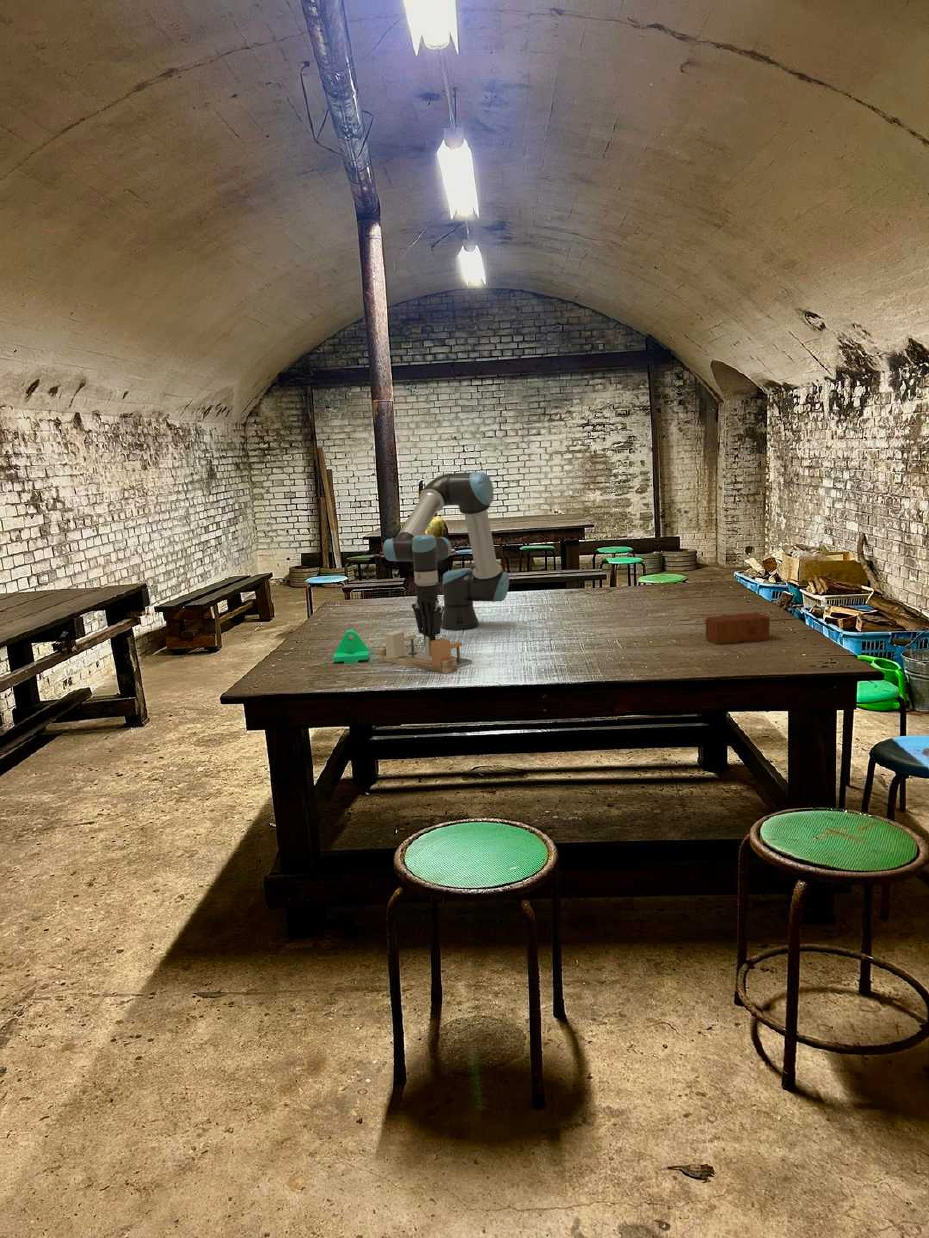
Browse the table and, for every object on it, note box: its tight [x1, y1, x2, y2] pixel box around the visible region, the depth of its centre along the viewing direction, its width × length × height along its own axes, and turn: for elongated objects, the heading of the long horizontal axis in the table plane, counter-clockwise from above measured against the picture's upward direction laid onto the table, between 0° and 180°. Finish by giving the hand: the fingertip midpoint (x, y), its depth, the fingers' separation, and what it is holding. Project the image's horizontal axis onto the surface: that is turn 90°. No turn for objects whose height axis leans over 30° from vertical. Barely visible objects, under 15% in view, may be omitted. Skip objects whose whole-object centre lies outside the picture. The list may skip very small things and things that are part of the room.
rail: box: [378, 647, 458, 675], centre depth 256 cm, size 5×32×4 cm, turn 48°
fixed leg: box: [384, 630, 417, 659], centre depth 264 cm, size 12×4×8 cm, turn 138°
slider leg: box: [431, 637, 463, 668], centre depth 250 cm, size 12×4×8 cm, turn 138°
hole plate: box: [404, 649, 473, 669], centre depth 262 cm, size 8×28×1 cm, turn 48°
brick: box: [705, 611, 771, 645], centre depth 267 cm, size 20×8×8 cm, turn 99°
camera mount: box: [332, 629, 371, 665], centre depth 266 cm, size 12×8×10 cm, turn 94°
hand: (430, 655), depth 251 cm, fingers closed
